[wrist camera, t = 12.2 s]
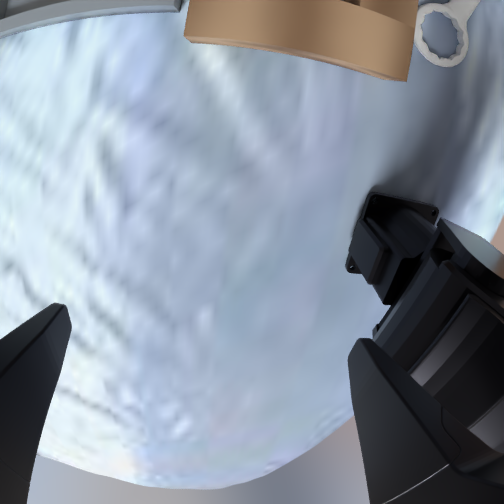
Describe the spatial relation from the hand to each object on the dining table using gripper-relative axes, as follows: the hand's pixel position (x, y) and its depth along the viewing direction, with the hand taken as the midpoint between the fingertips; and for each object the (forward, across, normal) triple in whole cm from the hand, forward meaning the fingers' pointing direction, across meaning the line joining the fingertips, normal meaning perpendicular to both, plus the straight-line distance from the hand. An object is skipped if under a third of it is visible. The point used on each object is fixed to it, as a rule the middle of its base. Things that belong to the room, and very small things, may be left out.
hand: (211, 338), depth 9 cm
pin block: (+13, -2, -15) cm, 20 cm away
